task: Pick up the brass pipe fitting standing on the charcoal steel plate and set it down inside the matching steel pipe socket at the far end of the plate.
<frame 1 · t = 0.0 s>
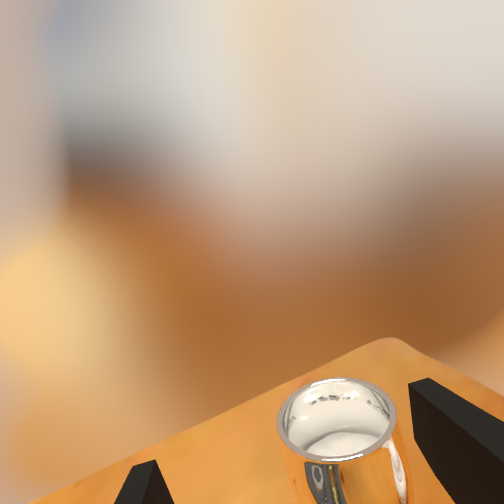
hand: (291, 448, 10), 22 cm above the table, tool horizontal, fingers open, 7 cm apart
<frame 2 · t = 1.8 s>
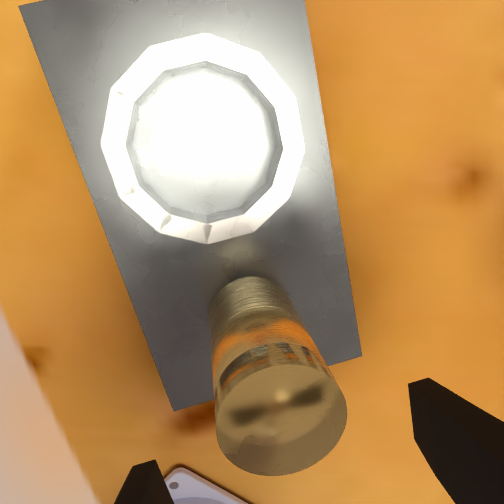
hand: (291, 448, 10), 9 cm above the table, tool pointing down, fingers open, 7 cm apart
brass fitting: (251, 315, 18), point 1 cm above the table, touching pipe plate
pipe plate: (222, 211, 17), on the table
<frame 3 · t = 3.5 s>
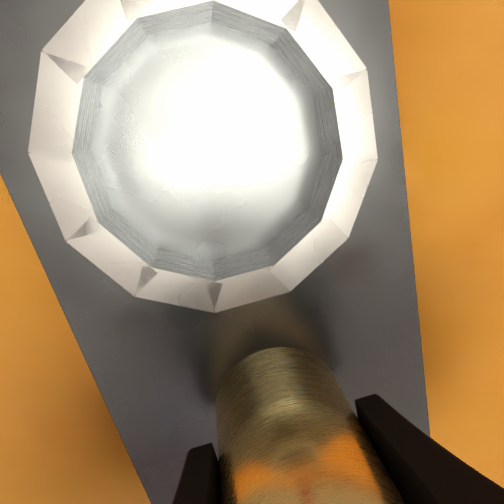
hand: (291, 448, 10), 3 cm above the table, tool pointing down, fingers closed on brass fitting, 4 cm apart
brass fitting: (277, 401, 12), point 1 cm above the table, touching gripper, pipe plate
pipe plate: (236, 249, 11), on the table
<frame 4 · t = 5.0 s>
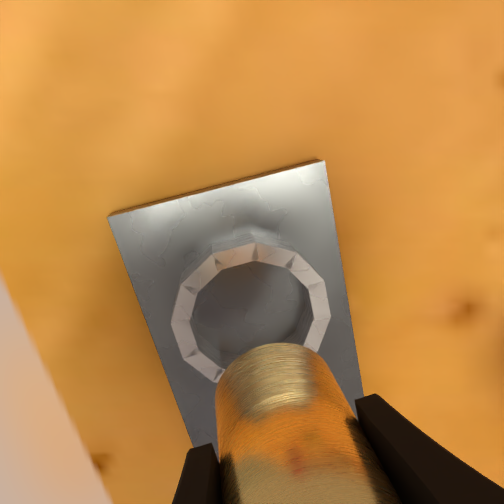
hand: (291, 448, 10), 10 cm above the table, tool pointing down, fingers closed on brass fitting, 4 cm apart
brass fitting: (275, 394, 13), point 8 cm above the table, touching gripper
pipe plate: (259, 345, 21), on the table
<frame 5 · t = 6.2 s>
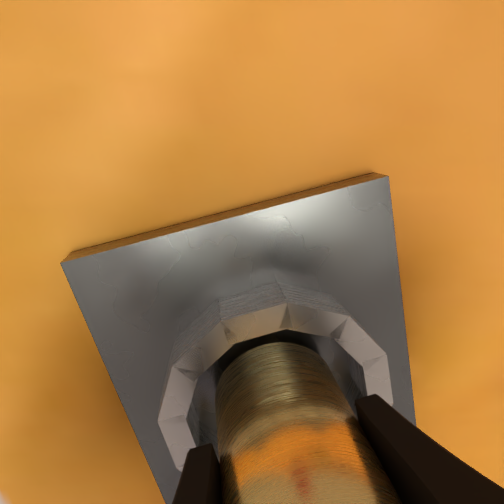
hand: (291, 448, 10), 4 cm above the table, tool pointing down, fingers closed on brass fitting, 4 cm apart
brass fitting: (275, 394, 13), point 2 cm above the table, touching gripper
pipe plate: (282, 426, 15), on the table
when the fingers open (4 cm above the table, at t = 6.9 s): brass fitting stays where it is, resting on pipe plate.
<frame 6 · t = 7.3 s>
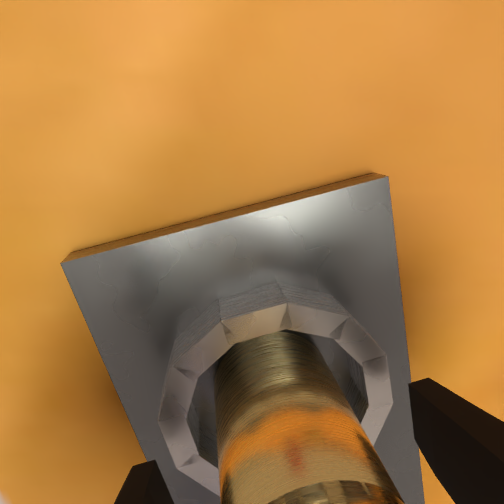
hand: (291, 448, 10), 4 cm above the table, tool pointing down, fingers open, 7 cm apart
brass fitting: (271, 382, 13), point 1 cm above the table, touching pipe plate
pipe plate: (282, 426, 15), on the table
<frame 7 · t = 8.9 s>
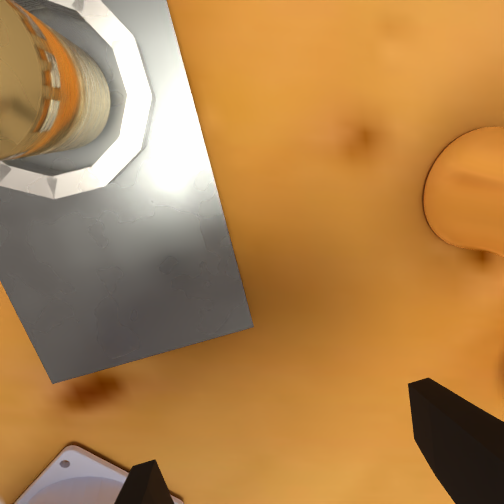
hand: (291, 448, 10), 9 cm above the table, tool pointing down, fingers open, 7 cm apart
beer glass: (475, 189, 19), on the table
brass fitting: (55, 95, 14), point 1 cm above the table, touching pipe plate
pipe plate: (91, 170, 16), on the table
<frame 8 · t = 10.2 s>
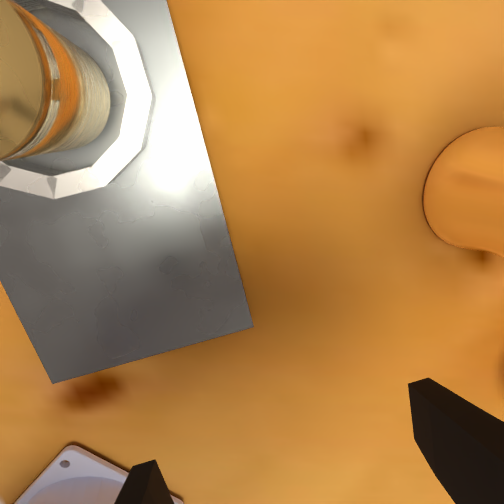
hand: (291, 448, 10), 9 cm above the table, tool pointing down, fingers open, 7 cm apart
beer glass: (475, 189, 19), on the table
brass fitting: (55, 95, 14), point 1 cm above the table, touching pipe plate
pipe plate: (91, 170, 16), on the table
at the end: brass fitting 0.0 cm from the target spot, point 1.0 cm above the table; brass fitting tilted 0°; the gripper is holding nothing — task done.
